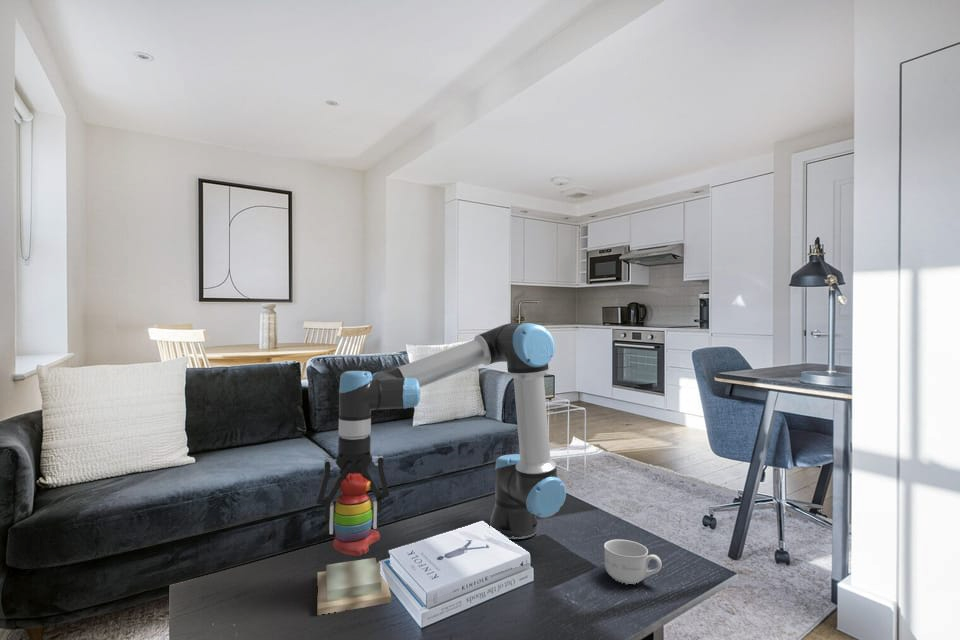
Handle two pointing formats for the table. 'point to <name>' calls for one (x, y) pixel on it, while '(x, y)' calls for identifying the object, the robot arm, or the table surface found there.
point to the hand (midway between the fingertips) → (353, 529)
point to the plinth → (351, 601)
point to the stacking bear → (354, 516)
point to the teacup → (628, 561)
